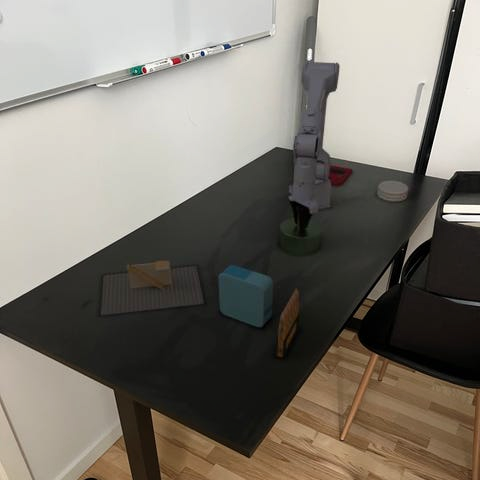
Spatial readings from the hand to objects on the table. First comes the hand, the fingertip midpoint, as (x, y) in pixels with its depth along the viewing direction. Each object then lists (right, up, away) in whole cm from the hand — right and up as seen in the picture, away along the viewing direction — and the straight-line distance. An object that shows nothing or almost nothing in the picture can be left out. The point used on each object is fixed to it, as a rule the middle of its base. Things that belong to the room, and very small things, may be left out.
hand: (301, 225), depth 142 cm
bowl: (0, -5, +4) cm, 6 cm away
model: (-40, -19, -12) cm, 46 cm away
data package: (-16, -26, -22) cm, 37 cm away
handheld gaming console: (+17, +25, +42) cm, 52 cm away
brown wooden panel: (-7, -32, -29) cm, 44 cm away
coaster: (+34, +15, +29) cm, 47 cm away
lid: (0, -1, +1) cm, 1 cm away
